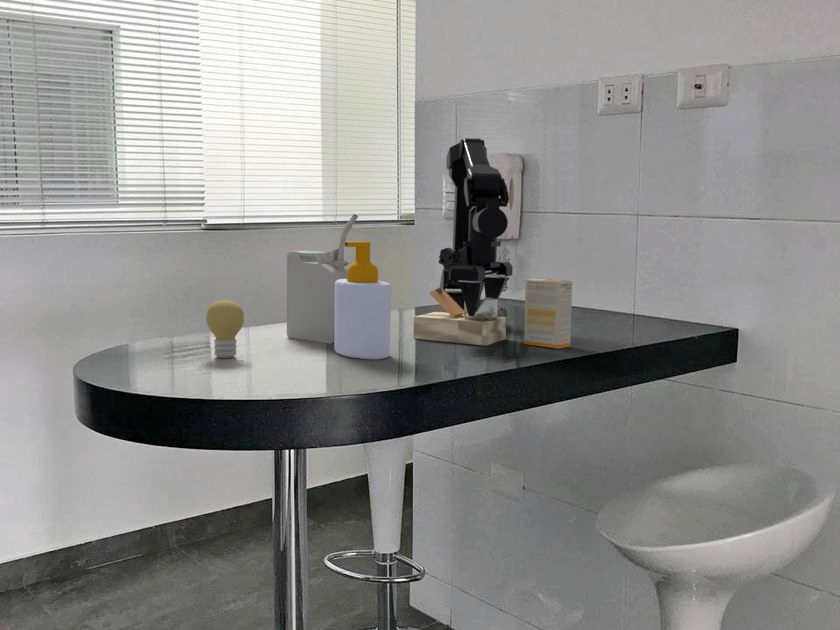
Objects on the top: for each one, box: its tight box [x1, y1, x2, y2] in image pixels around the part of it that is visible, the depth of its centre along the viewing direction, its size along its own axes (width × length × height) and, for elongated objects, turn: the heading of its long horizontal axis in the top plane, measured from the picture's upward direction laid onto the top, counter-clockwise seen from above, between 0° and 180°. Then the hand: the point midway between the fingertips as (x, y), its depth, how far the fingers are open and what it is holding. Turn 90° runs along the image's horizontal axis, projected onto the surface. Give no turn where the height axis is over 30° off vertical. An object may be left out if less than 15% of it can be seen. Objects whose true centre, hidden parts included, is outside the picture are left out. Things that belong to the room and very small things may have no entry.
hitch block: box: [413, 311, 507, 346], centre depth 181 cm, size 10×16×4 cm, turn 63°
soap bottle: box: [333, 241, 392, 361], centre depth 160 cm, size 13×8×20 cm, turn 37°
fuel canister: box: [286, 213, 359, 345], centre depth 175 cm, size 15×5×25 cm, turn 53°
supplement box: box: [523, 277, 573, 350], centre depth 174 cm, size 8×5×13 cm, turn 47°
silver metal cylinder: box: [464, 296, 499, 321], centre depth 179 cm, size 7×7×8 cm
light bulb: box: [205, 299, 245, 359], centre depth 154 cm, size 6×6×10 cm
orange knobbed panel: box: [429, 286, 464, 317], centre depth 182 cm, size 7×5×2 cm
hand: (480, 313), depth 179 cm, fingers open, 9 cm apart
